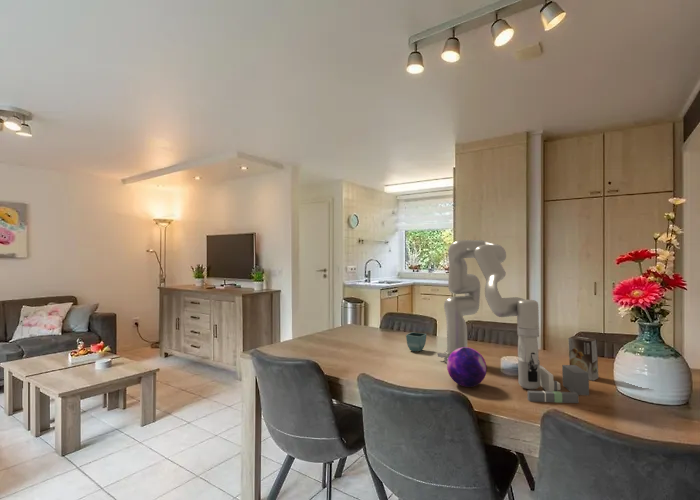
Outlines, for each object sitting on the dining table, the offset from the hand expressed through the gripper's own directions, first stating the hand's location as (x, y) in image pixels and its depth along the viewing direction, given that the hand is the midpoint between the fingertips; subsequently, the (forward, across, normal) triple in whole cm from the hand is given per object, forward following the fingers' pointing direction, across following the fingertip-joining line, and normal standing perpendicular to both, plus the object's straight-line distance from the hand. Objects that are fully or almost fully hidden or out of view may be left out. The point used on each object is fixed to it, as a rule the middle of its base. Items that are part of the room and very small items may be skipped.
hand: (529, 377), depth 143 cm
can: (+4, 0, 0) cm, 4 cm away
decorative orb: (+4, -1, -23) cm, 24 cm away
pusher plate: (+4, +2, +8) cm, 9 cm away
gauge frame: (+4, +4, +7) cm, 9 cm away
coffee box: (+4, -17, +27) cm, 32 cm away
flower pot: (+5, -55, -41) cm, 69 cm away
